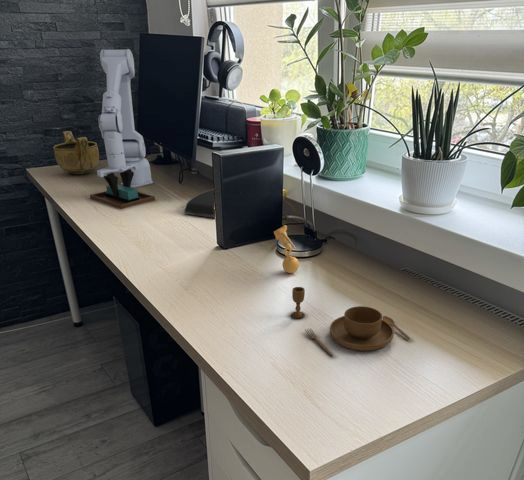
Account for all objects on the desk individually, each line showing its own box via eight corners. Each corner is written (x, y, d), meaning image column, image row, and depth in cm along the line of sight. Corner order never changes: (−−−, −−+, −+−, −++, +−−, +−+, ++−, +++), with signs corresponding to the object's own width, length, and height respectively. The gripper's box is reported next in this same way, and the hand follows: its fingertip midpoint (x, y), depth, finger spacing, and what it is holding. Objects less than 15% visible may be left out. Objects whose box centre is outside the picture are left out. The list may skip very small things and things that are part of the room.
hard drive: (181, 214, 163) (180, 201, 161) (213, 198, 178) (212, 186, 176) (217, 219, 158) (216, 206, 156) (246, 203, 173) (246, 190, 171)
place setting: (335, 363, 91) (338, 334, 88) (286, 314, 106) (286, 288, 103) (417, 342, 96) (422, 314, 93) (359, 298, 112) (361, 273, 109)
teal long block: (105, 196, 180) (103, 185, 178) (116, 194, 183) (114, 182, 181) (129, 204, 172) (127, 192, 170) (139, 201, 175) (138, 189, 173)
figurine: (307, 276, 122) (309, 227, 116) (285, 282, 119) (286, 232, 113) (288, 264, 128) (288, 217, 122) (267, 270, 126) (266, 221, 119)
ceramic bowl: (110, 175, 207) (103, 135, 199) (67, 182, 199) (59, 140, 191) (92, 165, 222) (85, 127, 214) (51, 171, 214) (43, 132, 206)
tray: (123, 191, 187) (122, 186, 186) (155, 200, 176) (154, 196, 176) (90, 199, 179) (89, 194, 178) (121, 209, 168) (120, 205, 167)
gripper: (102, 158, 163) (110, 201, 170) (140, 151, 172) (146, 192, 179) (90, 155, 167) (98, 197, 174) (128, 148, 176) (134, 188, 183)
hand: (121, 194), depth 177 cm, fingers open, 4 cm apart
